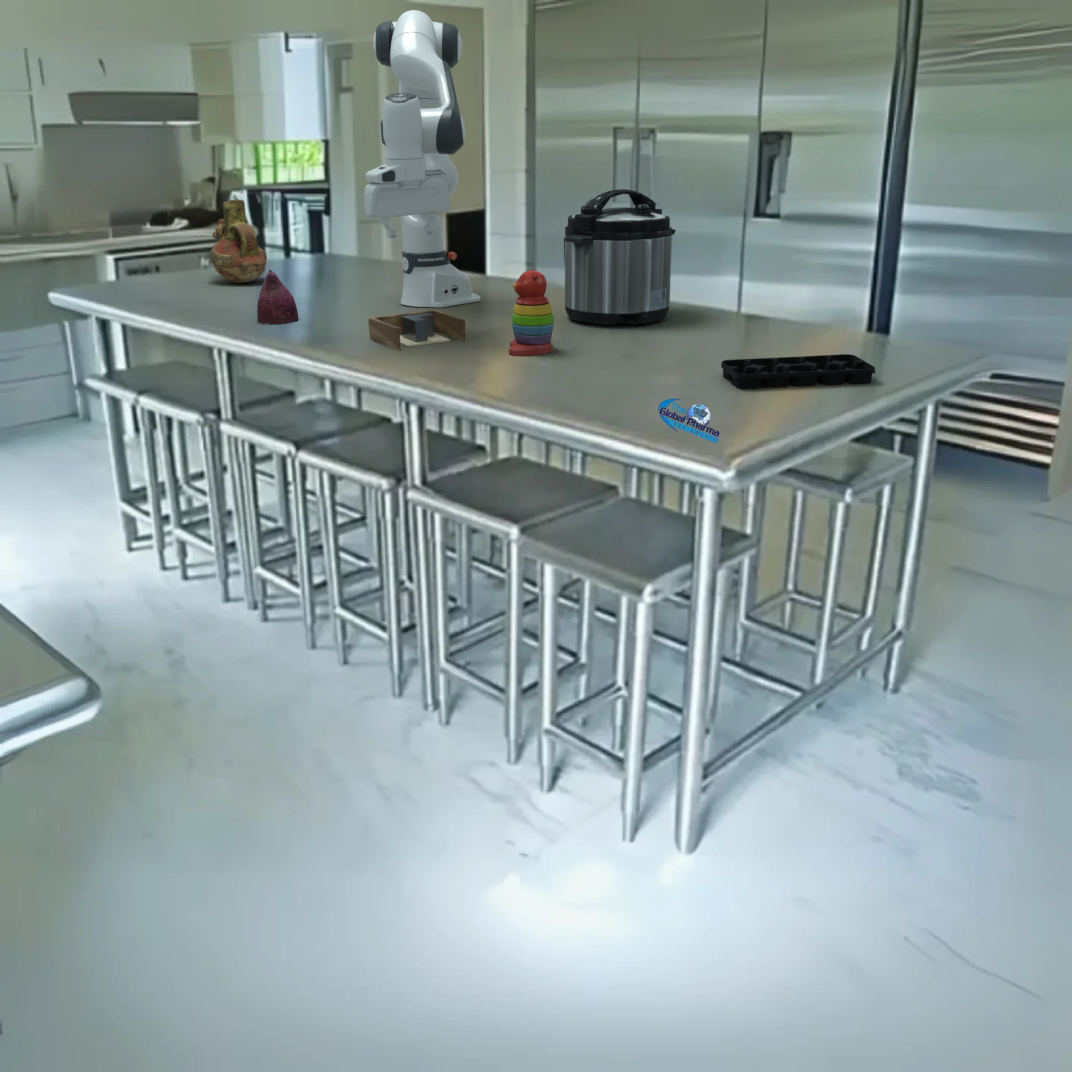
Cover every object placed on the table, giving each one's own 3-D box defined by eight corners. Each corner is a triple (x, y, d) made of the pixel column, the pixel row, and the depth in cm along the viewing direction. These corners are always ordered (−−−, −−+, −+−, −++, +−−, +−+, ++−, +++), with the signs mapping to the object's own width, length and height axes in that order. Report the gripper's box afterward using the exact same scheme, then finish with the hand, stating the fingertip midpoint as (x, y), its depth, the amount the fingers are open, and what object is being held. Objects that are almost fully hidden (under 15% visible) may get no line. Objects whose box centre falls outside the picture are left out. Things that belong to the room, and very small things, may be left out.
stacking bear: (510, 345, 248) (509, 267, 241) (554, 345, 248) (553, 266, 241) (507, 356, 238) (506, 274, 231) (553, 355, 238) (553, 274, 231)
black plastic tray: (885, 384, 213) (887, 366, 211) (753, 399, 204) (754, 380, 202) (834, 365, 228) (835, 348, 227) (708, 378, 219) (709, 360, 217)
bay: (436, 329, 265) (435, 309, 263) (466, 340, 253) (465, 319, 251) (369, 338, 256) (368, 317, 254) (396, 350, 244) (395, 328, 243)
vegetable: (289, 337, 275) (284, 282, 266) (251, 330, 276) (245, 276, 267) (305, 319, 283) (301, 265, 274) (268, 313, 285) (263, 259, 275)
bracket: (402, 337, 256) (401, 316, 254) (428, 333, 259) (427, 312, 257) (416, 342, 250) (415, 320, 248) (442, 338, 254) (441, 317, 252)
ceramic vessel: (244, 274, 352) (235, 194, 342) (285, 283, 334) (277, 199, 325) (195, 280, 341) (185, 198, 332) (235, 290, 324) (225, 203, 314)
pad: (428, 333, 261) (428, 331, 261) (449, 341, 253) (449, 339, 253) (387, 338, 256) (387, 337, 256) (407, 347, 247) (407, 345, 247)
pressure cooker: (657, 305, 292) (661, 183, 280) (688, 326, 266) (694, 192, 254) (549, 310, 288) (548, 186, 276) (570, 331, 262) (570, 195, 250)
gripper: (440, 168, 247) (443, 230, 252) (358, 174, 237) (364, 238, 242) (453, 169, 242) (456, 232, 247) (370, 175, 232) (376, 241, 237)
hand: (410, 235), depth 245 cm, fingers open, 8 cm apart
